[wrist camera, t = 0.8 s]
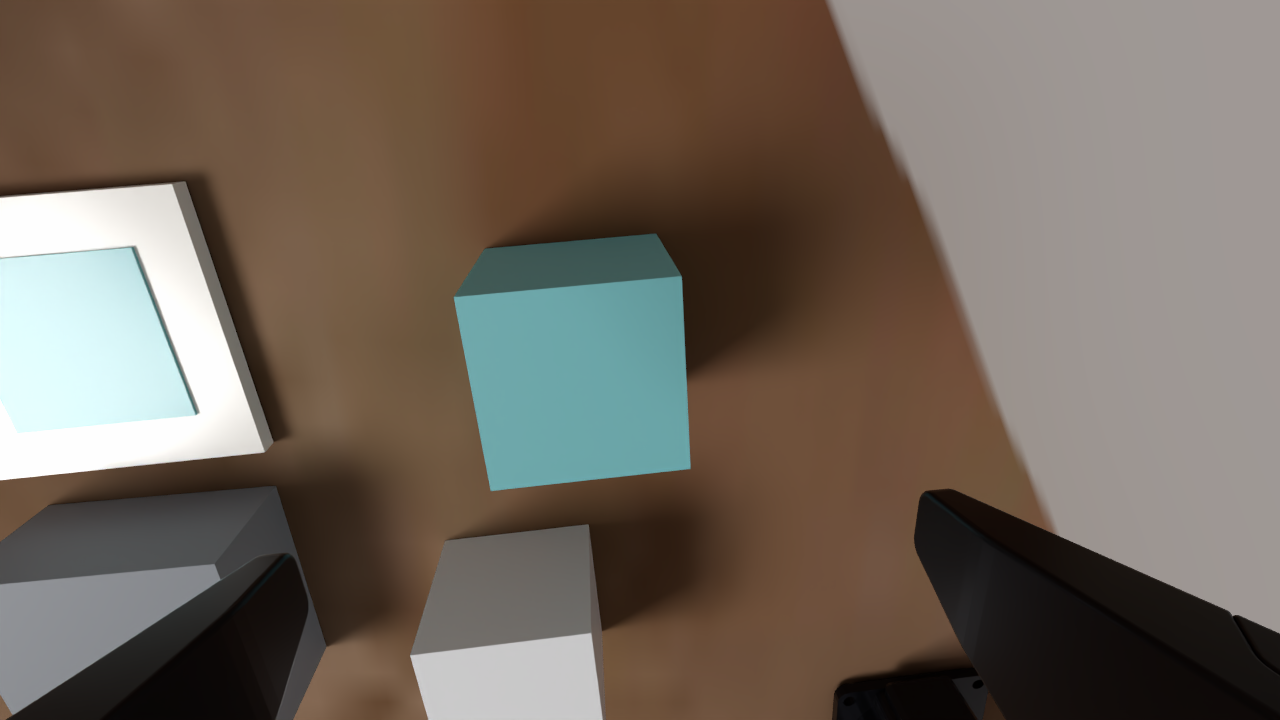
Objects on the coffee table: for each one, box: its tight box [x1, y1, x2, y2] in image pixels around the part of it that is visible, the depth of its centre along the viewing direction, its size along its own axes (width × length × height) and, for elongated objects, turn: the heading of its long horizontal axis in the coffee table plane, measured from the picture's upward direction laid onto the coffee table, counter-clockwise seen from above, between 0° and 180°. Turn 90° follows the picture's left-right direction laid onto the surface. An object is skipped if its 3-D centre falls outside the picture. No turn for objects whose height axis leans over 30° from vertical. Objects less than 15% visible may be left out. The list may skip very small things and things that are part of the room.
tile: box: [0, 181, 274, 480], centre depth 18 cm, size 8×8×1 cm
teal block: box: [454, 234, 690, 491], centre depth 17 cm, size 5×5×5 cm
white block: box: [410, 524, 606, 720], centre depth 21 cm, size 5×5×5 cm
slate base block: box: [0, 486, 326, 720], centre depth 20 cm, size 7×7×4 cm
